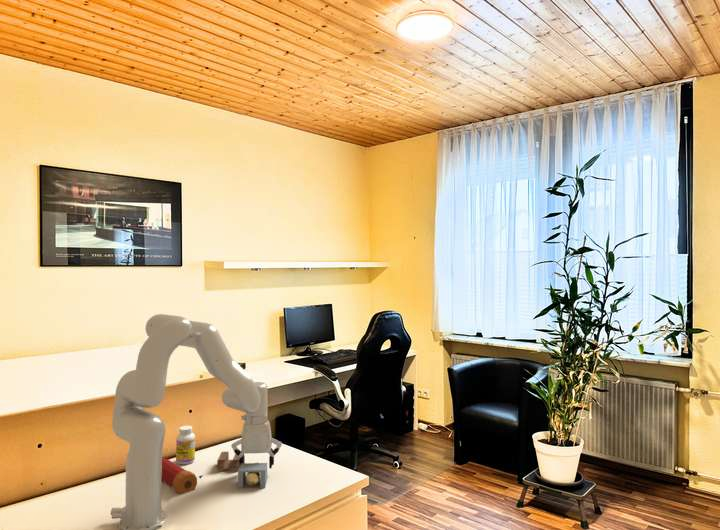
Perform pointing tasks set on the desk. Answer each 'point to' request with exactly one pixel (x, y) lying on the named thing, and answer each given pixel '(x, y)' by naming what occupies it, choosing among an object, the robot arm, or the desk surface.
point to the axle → (252, 478)
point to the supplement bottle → (185, 445)
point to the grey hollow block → (252, 468)
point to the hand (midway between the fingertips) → (256, 467)
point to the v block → (227, 462)
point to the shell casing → (178, 477)
